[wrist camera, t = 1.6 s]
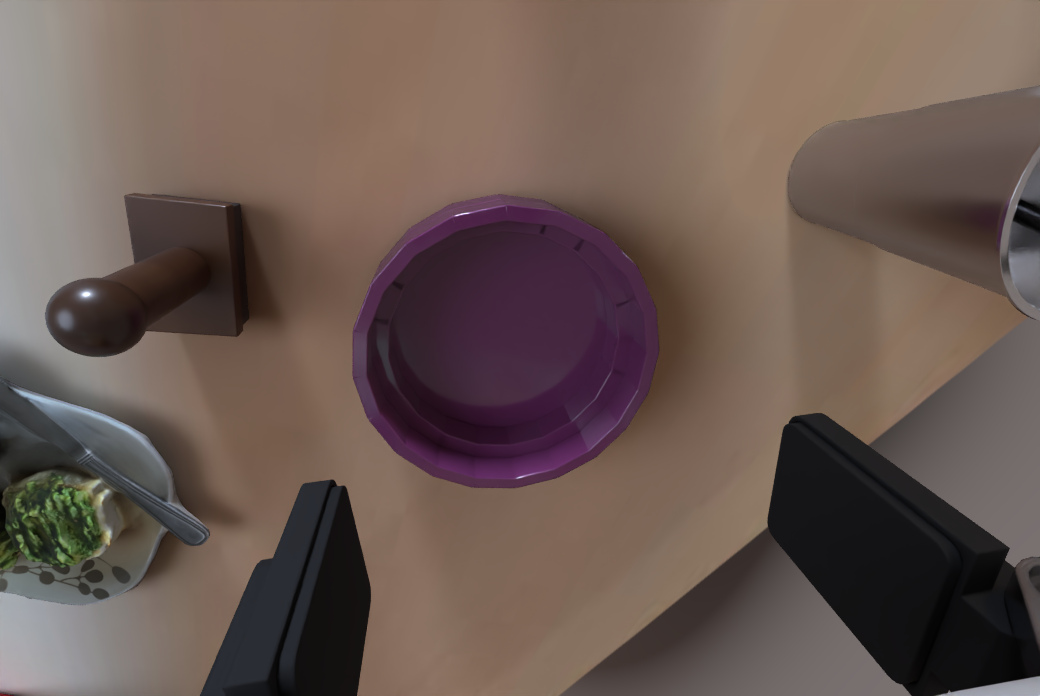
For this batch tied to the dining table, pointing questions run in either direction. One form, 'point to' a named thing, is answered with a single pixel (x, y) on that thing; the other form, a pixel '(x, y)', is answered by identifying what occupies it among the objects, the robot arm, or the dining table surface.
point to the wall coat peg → (160, 279)
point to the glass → (936, 188)
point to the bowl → (504, 343)
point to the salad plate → (80, 501)
